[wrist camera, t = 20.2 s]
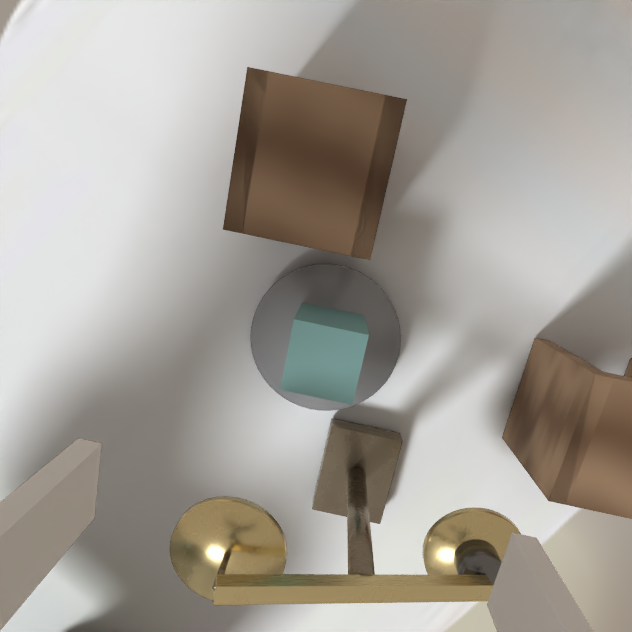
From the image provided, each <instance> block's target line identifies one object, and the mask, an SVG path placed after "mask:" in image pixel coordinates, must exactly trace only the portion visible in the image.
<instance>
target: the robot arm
mask: <svg viewBox="0 0 632 632" xmlns="http://www.w3.org/2000/svg"><path fill="white" fill-rule="evenodd" d="M101 448H102V443H98V442H93V441H89V440H84V439H79V438H78V439H77V440H76V441H75V442H73V443H72V444H71V445H70V446H68V447H67V448H66V449H65V450H64V451H62V452H61V453H60V454H59V455H57V456H56V457H55V458H54V459H53V460H51V461H50V462H49V463H48V464H46V465H45V466H44V467H43V468H42V469H40V470H39V471H38V472H37V473H35V474H34V475H33V476H32V477H31V478H29V479H28V480H27V481H26V482H24V483H23V484H22V485H21V486H20V487H18V488H17V489H16V490H15V491H13V492H12V493H11V494H10V495H9V496H7V497H6V498H5V499H4V500H3V501H1V502H0V630H1V629H2V628H3V627H4V625H5V624H6V623H7V622H8V621H9V619H10V618H11V617H12V616H13V615H14V613H15V612H16V611H17V610H18V609H19V607H20V606H21V605H22V604H23V603H24V602H25V600H26V599H27V598H28V597H29V596H30V594H31V593H32V592H33V591H34V590H35V588H36V587H37V586H38V585H39V584H40V582H41V581H42V580H43V579H44V578H45V576H46V575H47V574H48V573H49V572H50V570H51V569H52V568H53V567H54V566H55V565H56V563H57V562H58V561H59V560H60V559H61V557H62V556H63V555H64V554H65V553H66V551H67V550H68V549H69V548H70V547H71V545H72V544H73V543H74V542H75V541H76V539H77V538H78V537H79V536H80V535H81V533H82V532H83V531H84V530H85V529H86V528H87V526H88V525H89V524H90V523H91V522H92V520H93V519H94V518H95V508H96V498H97V488H98V478H99V468H100V458H101ZM487 606H488V608H489V611H490V614H491V616H492V619H493V622H494V625H495V627H496V630H497V632H594V631H593V629H592V628H591V626H590V624H589V623H588V621H587V620H586V618H585V616H584V615H583V613H582V611H581V610H580V608H579V606H578V605H577V603H576V602H575V600H574V598H573V597H572V595H571V593H570V592H569V590H568V588H567V587H566V585H565V584H564V582H563V581H562V579H561V578H560V576H559V574H558V572H557V571H556V569H555V567H554V566H553V564H552V562H551V561H550V559H549V557H548V556H547V554H546V553H545V551H544V549H543V548H542V546H541V544H540V543H539V541H538V540H537V538H535V537H530V536H526V535H521V534H516V533H512V534H511V537H510V540H509V543H508V546H507V549H506V551H505V554H504V557H503V560H502V563H501V566H500V568H499V571H498V574H497V577H496V580H495V583H494V585H493V588H492V591H491V594H490V597H489V600H488V603H487Z"/></svg>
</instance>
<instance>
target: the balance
mask: <svg viewBox="0 0 632 632" xmlns="http://www.w3.org/2000/svg"><path fill="white" fill-rule="evenodd" d="M401 445H402V438H401V435H400V433H398V432H393V431H388V430H384V429H379V428H374V427H370V426H365V425H360V424H356V423H351V422H346V421H342V420H337V419H331V423H330V428H329V432H328V437H327V441H326V445H325V450H324V454H323V459H322V463H321V467H320V472H319V476H318V480H317V485H316V489H315V494H314V498H313V507H312V509H314V510H318V511H323V512H327V513H332V514H336V515H341V516H346V517H347V526H348V575H314V574H283V571H284V568H285V562H286V556H287V546H286V540H285V537H284V534H283V532H282V529H281V527H280V526H279V524H278V523H277V521H276V520H275V519H274V518H273V517H272V516H271V515H270V514H269V513H268V512H267V511H266V510H264V509H263V508H261V507H260V506H258V505H256V504H255V503H252V502H250V501H247V500H244V499H241V498H236V497H214V498H209V499H206V500H203V501H201V502H199V503H197V504H195V505H194V506H192V507H191V508H190V509H188V510H187V511H186V512H185V513H184V515H183V516H182V517H181V519H180V520H179V522H178V524H177V526H176V527H175V529H174V531H173V534H172V537H171V541H170V556H171V560H172V564H173V566H174V569H175V570H176V572H177V574H178V576H179V577H180V578H181V580H182V581H183V582H184V583H185V584H186V585H187V586H188V587H189V588H190V589H192V590H193V591H194V592H196V593H197V594H199V595H201V596H203V597H205V598H207V599H210V600H212V601H213V605H251V604H322V603H393V602H465V601H488V600H489V597H490V594H491V591H492V588H493V585H494V583H495V580H496V577H497V574H498V571H499V568H500V566H501V563H502V560H503V557H504V554H505V551H506V549H507V546H508V543H509V540H510V537H511V534H512V533H516V534H521V533H520V532H519V530H518V528H517V527H516V526H515V524H514V523H513V522H512V521H511V520H509V519H508V518H507V517H505V516H504V515H502V514H500V513H498V512H495V511H493V510H489V509H484V508H465V509H460V510H457V511H453V512H451V513H449V514H447V515H445V516H444V517H442V518H441V519H439V520H438V521H437V522H436V523H435V524H434V525H433V526H432V527H431V529H430V530H429V531H428V533H427V535H426V537H425V540H424V544H423V559H424V563H425V568H426V571H427V573H428V575H375V574H374V563H373V552H372V541H371V529H370V522H373V523H378V524H380V522H381V519H382V515H383V511H384V508H385V504H386V500H387V496H388V493H389V489H390V485H391V482H392V478H393V474H394V471H395V467H396V463H397V460H398V456H399V452H400V449H401Z"/></svg>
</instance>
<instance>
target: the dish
mask: <svg viewBox="0 0 632 632" xmlns="http://www.w3.org/2000/svg"><path fill="white" fill-rule="evenodd" d="M302 303H307V304H312V305H317V306H321V307H326V308H331V309H336V310H341V311H345V312H350V313H355V314H360V315H364V316H365V320H366V324H367V329H368V333H369V337H368V341H367V346H366V350H365V354H364V358H363V363H362V367H361V371H360V375H359V379H358V384H357V388H356V392H355V396H354V401H353V405H350V404H345V403H340V402H336V401H331V400H326V399H321V398H317V397H312V396H307V395H303V394H298V393H293V392H289V391H284V390H280V387H281V382H282V377H283V372H284V367H285V362H286V356H287V351H288V346H289V341H290V336H291V331H292V326H293V320H294V318H295V316H296V314H297V312H298V310H299V308H300V306H301V304H302ZM400 342H401V335H400V326H399V322H398V318H397V315H396V313H395V310H394V308H393V306H392V304H391V302H390V301H389V299H388V297H387V296H386V295H385V293H384V292H383V291H382V289H381V288H380V287H379V286H378V285H377V284H376V283H375V282H373V281H372V280H371V279H370V278H368V277H367V276H365V275H363V274H362V273H360V272H358V271H356V270H353V269H351V268H348V267H344V266H341V265H334V264H317V265H310V266H307V267H303V268H300V269H298V270H295V271H293V272H291V273H289V274H287V275H286V276H284V277H283V278H282V279H280V280H279V281H278V282H276V283H275V284H274V285H273V286H272V287H271V288H270V289H269V290H268V291H267V293H266V294H265V295H264V297H263V298H262V300H261V301H260V303H259V305H258V307H257V309H256V312H255V314H254V317H253V321H252V326H251V348H252V354H253V357H254V360H255V363H256V365H257V367H258V370H259V371H260V373H261V375H262V376H263V378H264V379H265V381H266V382H267V383H268V384H269V385H270V387H272V388H273V389H274V390H275V391H276V392H277V393H278V394H279V395H281V396H282V397H284V398H285V399H287V400H289V401H290V402H292V403H294V404H297V405H299V406H302V407H306V408H309V409H315V410H339V409H344V408H348V407H351V406H354V405H356V404H358V403H360V402H362V401H364V400H366V399H368V398H369V397H371V396H372V395H373V394H374V393H376V392H377V391H378V390H379V389H380V388H381V387H382V386H383V385H384V384H385V382H386V381H387V380H388V378H389V377H390V375H391V374H392V372H393V369H394V367H395V365H396V362H397V359H398V356H399V351H400Z"/></svg>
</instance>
